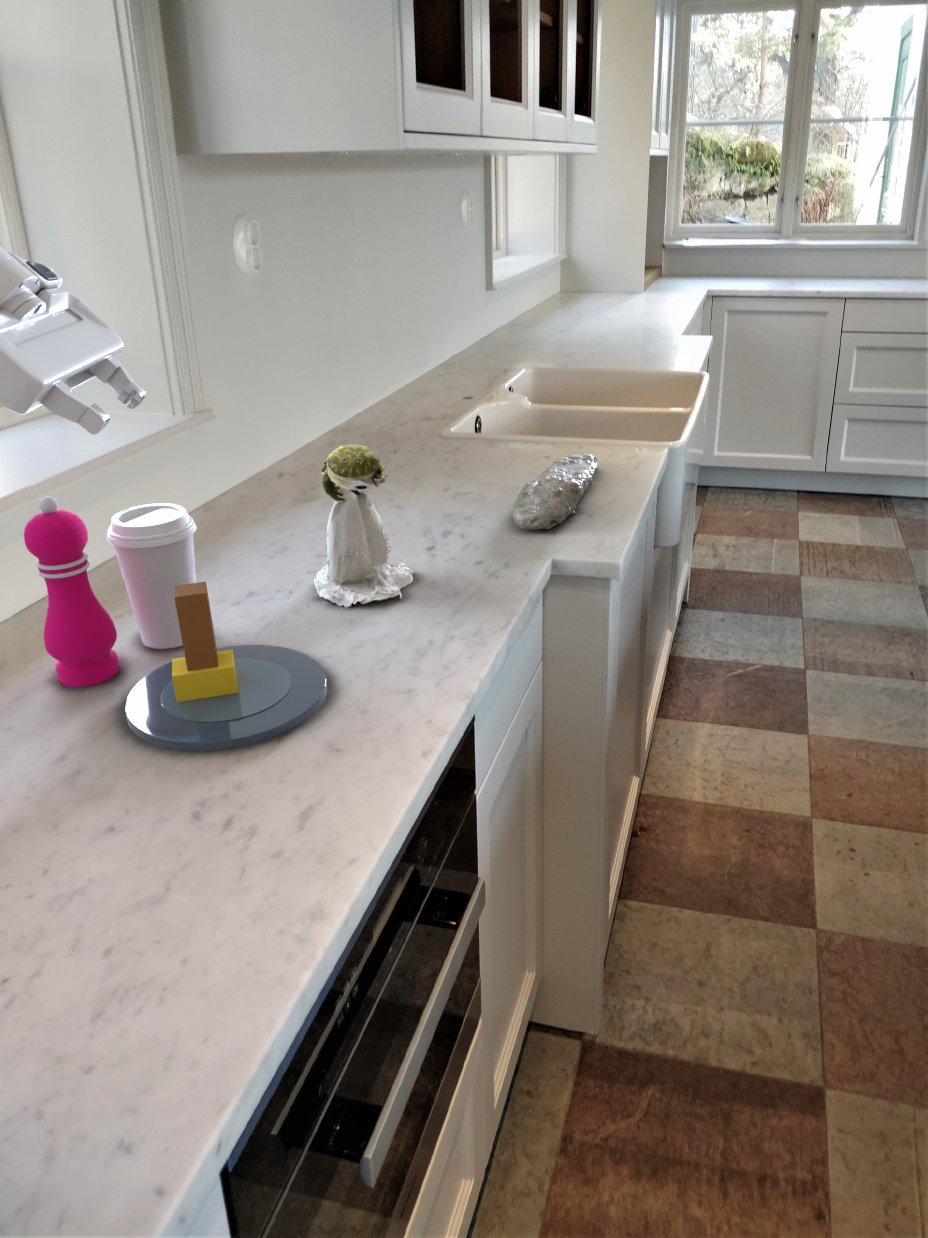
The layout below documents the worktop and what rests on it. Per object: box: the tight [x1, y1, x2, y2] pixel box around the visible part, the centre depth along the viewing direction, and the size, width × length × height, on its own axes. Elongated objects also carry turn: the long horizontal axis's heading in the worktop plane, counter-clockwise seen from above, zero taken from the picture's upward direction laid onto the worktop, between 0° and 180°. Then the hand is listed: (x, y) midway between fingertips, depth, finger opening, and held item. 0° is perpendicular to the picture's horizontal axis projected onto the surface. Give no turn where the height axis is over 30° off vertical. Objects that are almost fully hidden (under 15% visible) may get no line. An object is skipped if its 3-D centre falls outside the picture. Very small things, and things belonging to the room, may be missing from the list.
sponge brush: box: [171, 581, 238, 702], centre depth 95 cm, size 6×4×11 cm, turn 105°
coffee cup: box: [106, 502, 198, 650], centre depth 108 cm, size 10×10×15 cm
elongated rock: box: [511, 452, 599, 530], centre depth 152 cm, size 35×5×10 cm
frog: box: [313, 444, 415, 608], centre depth 119 cm, size 12×13×18 cm
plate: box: [124, 644, 328, 753], centre depth 97 cm, size 20×20×1 cm
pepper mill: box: [23, 495, 120, 688], centre depth 100 cm, size 7×7×20 cm
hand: (123, 414), depth 85 cm, fingers open, 8 cm apart
